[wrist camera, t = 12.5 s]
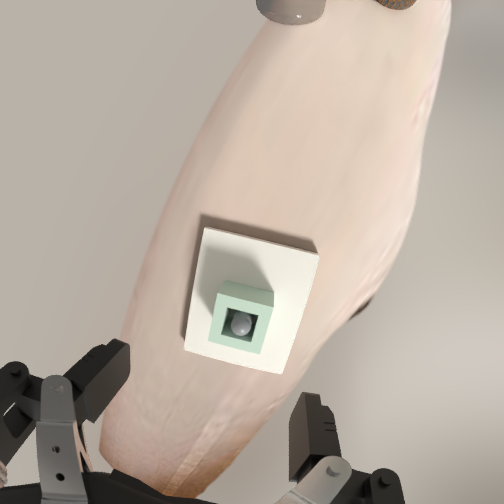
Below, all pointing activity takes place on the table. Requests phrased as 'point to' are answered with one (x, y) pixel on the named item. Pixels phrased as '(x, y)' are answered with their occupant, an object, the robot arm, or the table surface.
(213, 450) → the table surface
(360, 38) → the table surface
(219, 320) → the collar
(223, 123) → the table surface
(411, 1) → the vase
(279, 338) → the plate
